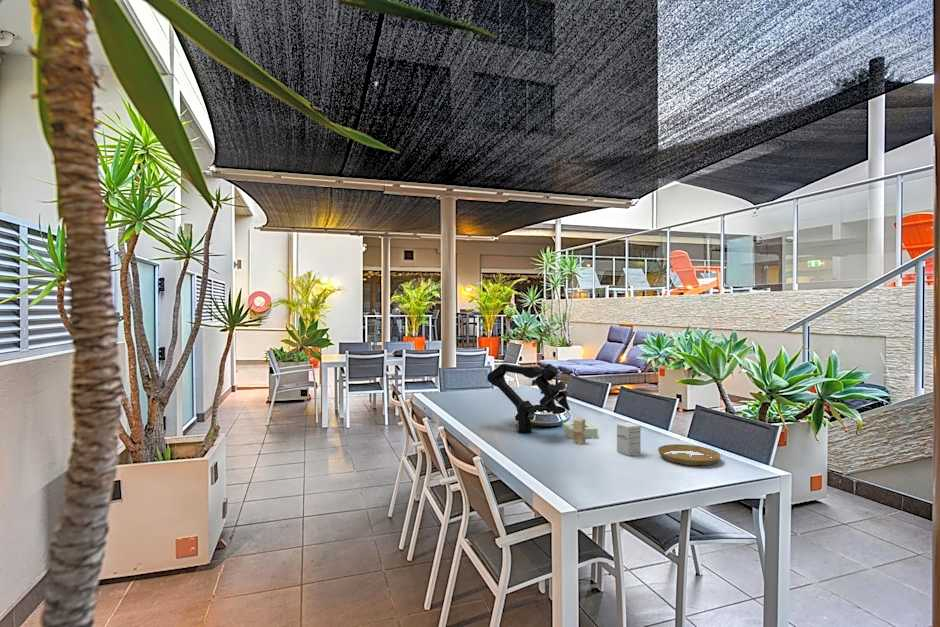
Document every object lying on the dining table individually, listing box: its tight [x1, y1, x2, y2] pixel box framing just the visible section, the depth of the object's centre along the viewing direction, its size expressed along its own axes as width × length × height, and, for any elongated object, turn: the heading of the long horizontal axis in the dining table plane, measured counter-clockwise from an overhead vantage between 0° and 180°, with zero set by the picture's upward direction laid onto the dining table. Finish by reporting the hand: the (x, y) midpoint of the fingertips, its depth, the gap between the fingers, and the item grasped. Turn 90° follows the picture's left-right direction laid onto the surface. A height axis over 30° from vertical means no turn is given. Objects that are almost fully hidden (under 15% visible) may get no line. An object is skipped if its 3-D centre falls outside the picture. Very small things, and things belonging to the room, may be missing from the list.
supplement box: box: [616, 421, 642, 457], centre depth 215 cm, size 7×7×13 cm
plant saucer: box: [657, 443, 722, 466], centre depth 206 cm, size 24×24×3 cm
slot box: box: [562, 421, 599, 439], centre depth 246 cm, size 14×14×4 cm
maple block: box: [572, 417, 586, 444], centre depth 232 cm, size 4×4×11 cm
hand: (564, 411), depth 237 cm, fingers open, 9 cm apart
